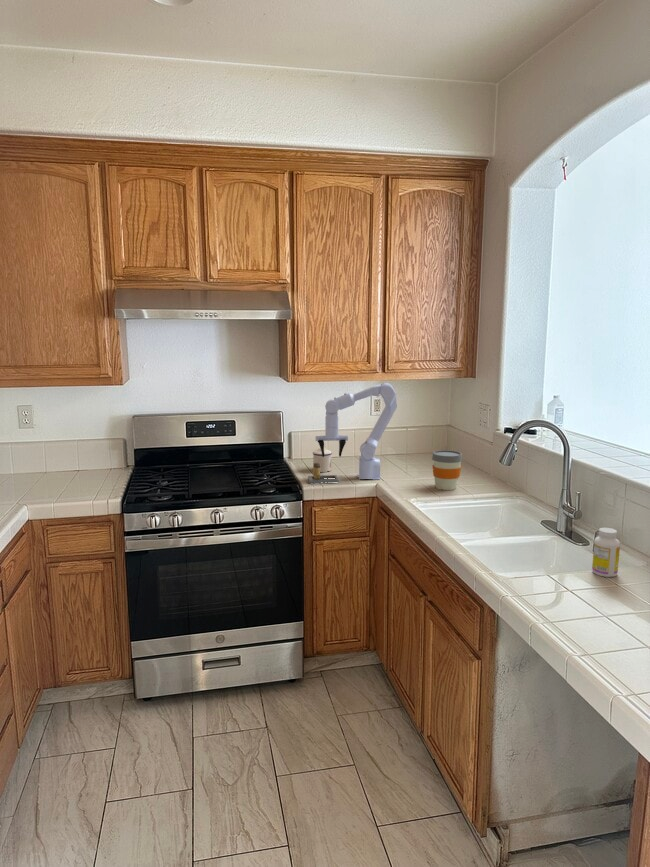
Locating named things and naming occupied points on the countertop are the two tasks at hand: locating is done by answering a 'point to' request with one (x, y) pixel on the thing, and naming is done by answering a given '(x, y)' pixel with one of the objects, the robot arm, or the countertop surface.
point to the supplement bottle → (606, 553)
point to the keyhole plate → (323, 479)
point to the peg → (316, 471)
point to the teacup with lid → (322, 459)
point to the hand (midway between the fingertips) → (331, 456)
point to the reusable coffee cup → (446, 468)
